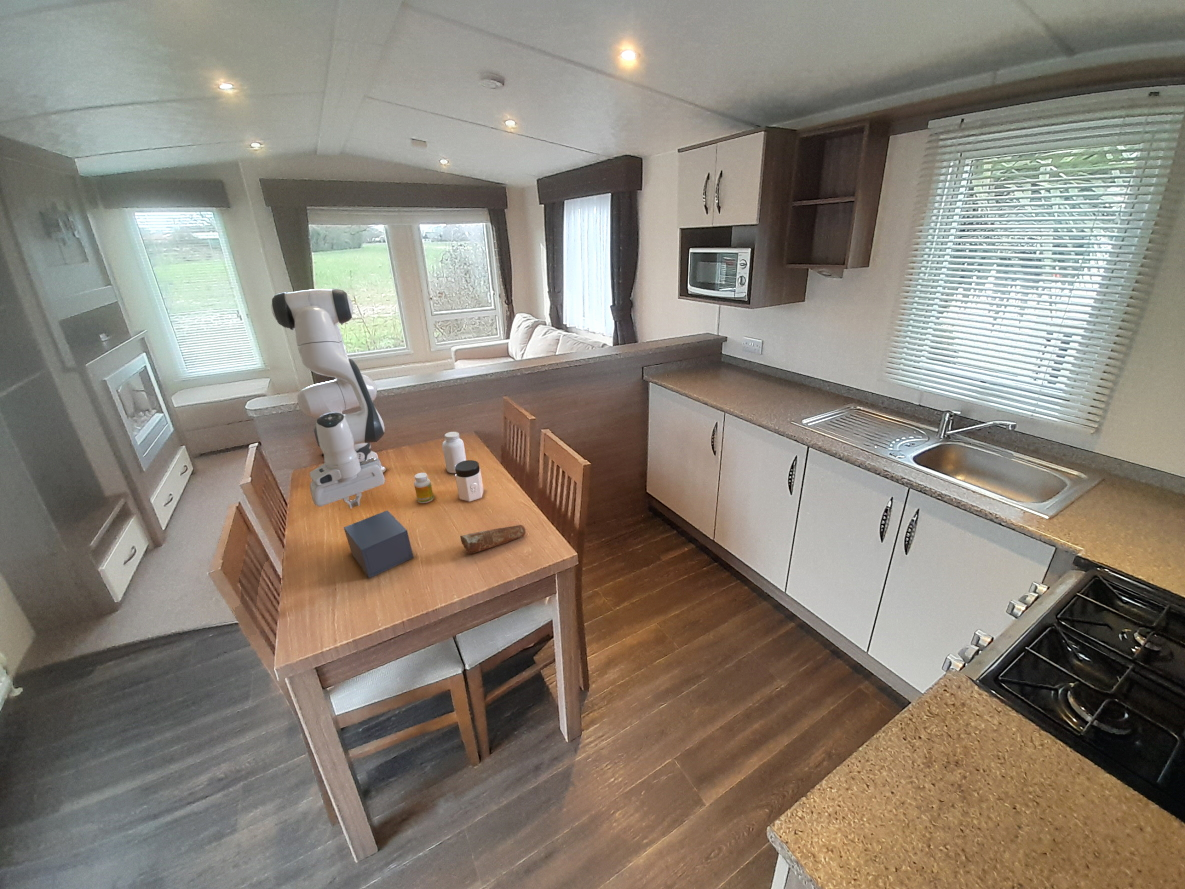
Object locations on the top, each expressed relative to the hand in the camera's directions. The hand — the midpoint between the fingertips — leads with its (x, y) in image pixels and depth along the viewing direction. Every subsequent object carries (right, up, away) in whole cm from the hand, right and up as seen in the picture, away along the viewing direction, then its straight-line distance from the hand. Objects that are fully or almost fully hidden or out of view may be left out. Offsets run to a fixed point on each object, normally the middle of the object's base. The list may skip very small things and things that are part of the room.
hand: (354, 506), depth 147 cm
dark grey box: (+12, -13, -8) cm, 20 cm away
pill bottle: (+20, +9, +40) cm, 46 cm away
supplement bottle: (+15, 0, +20) cm, 25 cm away
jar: (+31, +1, +22) cm, 38 cm away
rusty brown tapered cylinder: (+44, -11, -4) cm, 46 cm away
